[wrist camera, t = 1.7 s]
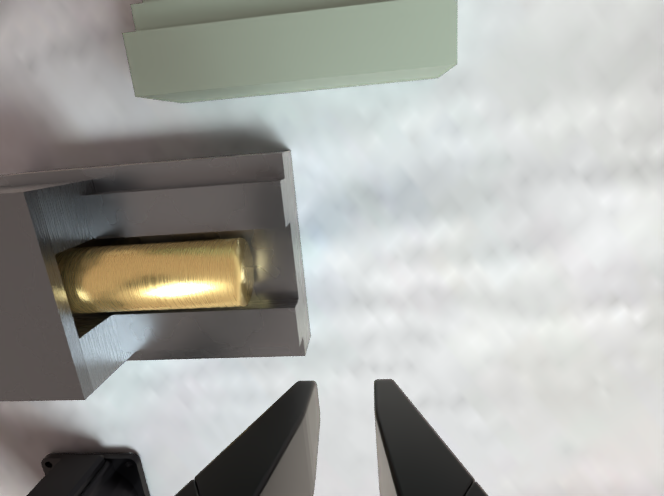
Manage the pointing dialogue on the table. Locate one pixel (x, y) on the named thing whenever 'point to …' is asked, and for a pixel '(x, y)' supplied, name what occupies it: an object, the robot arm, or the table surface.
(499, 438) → the table surface
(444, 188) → the table surface
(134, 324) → the grey slotted block
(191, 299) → the axle
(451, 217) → the table surface
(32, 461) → the table surface
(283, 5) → the v block
